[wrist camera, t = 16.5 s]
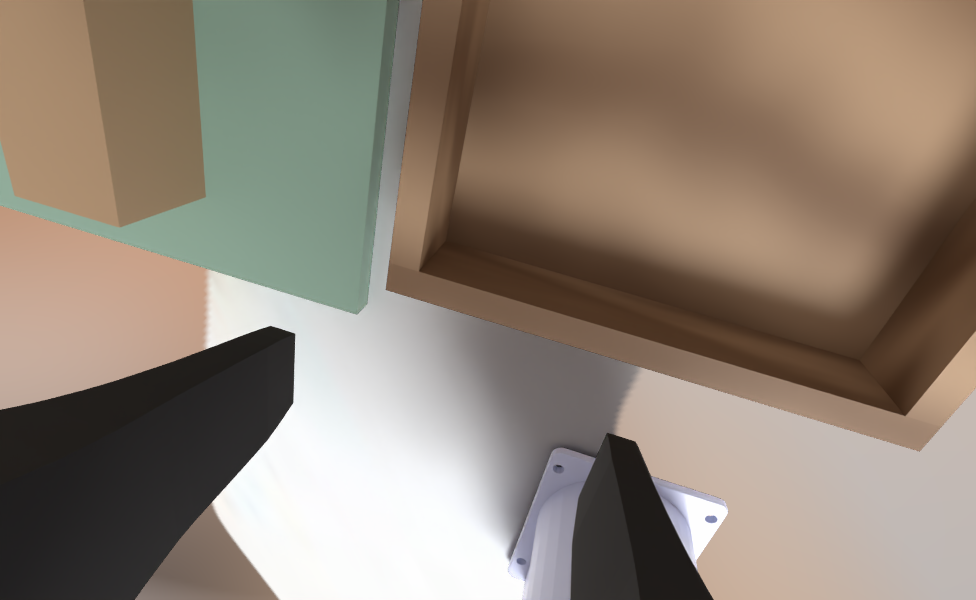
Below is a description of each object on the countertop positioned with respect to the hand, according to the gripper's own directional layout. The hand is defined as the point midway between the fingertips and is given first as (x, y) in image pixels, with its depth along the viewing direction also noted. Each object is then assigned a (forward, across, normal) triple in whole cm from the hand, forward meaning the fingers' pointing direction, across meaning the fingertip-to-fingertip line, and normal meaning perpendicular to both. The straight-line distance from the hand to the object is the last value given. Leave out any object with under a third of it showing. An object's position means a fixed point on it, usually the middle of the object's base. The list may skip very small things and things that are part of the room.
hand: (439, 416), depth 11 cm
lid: (+9, +14, -3) cm, 18 cm away
